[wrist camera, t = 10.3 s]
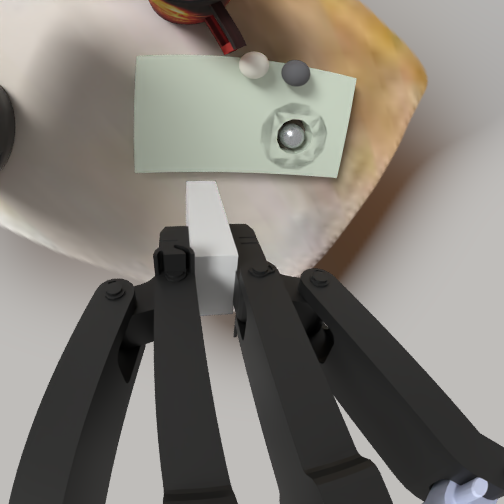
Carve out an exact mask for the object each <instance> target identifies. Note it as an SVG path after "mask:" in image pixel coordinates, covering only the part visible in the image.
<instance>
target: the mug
mask: <svg viewBox="0 0 504 504" xmlns="http://www.w3.org/2000/svg"><path fill="white" fill-rule="evenodd" d="M149 2H150V4H151V6H152V8H153V9H154V11H155V12H156V13H157V14H158V15H159V16H160V17H162V18H163V19H165V20H167V21H170V22H172V23H176V24H185V25H189V24H197V23H201V22H205V23H206V24H207V26H208V27H209V29H210V31H211V32H212V34H213V36H214V37H215V39H216V41H217V42H218V44H219V46H220V47H221V49H222V51H223V53H224V55H226V54H228V53H231V52H233V51H236V50H237V49H238V48H241V47H243V46H246V43H245V41H244V39H243V37H242V35H241V33H240V31H239V30H238V28H237V26H236V25H235V23H234V21H233V20H232V18H231V16H230V15H229V13H228V11H227V10H226V8H225V7H226V6H227V4H228V3H229V2H230V0H149ZM215 18H216V19H215ZM218 23H219V24H218ZM220 26H221V27H220ZM221 28H222V29H221ZM223 31H224V32H223ZM224 33H225V34H224ZM226 36H227V37H226ZM227 38H228V39H227Z"/></svg>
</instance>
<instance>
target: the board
mask: <svg viewBox="0 0 504 504" xmlns="http://www.w3.org/2000/svg"><path fill="white" fill-rule="evenodd" d="M240 59H241V58H239V57H227V56H211V55H147V56H137V57H136V72H135V93H134V165H135V173H156V172H244V173H270V174H290V175H306V176H319V177H332V178H337V175H338V170H339V166H340V161H341V157H342V152H343V147H344V143H345V138H346V133H347V128H348V123H349V117H350V112H351V107H352V101H353V96H354V90H355V84H356V78H352V77H349V76H345V75H341V74H337V73H332V72H328V71H324V70H319V69H314V68H309V69H310V79H309V80H308V82H307V83H306V84H304V85H302V86H299V87H295V86H291V85H289V84H287V83H286V82H285V81H284V80H283V78H282V75H281V71H282V67H283V66H284V65H285V64H286V63H280V62H274V61H269V69H268V72H267V73H266V74H265V75H264V76H263V77H261V78H258V79H250V78H247V77H245V76H244V75H243V74H242V73H241V71H240V69H239V61H240ZM292 119H298V120H300V121H302V123H303V126H304V128H305V134H304V141H303V143H302V144H301V145H300V146H298V147H296V148H292V149H283V148H280V147H279V144H278V142H277V134H278V130H279V129H280V127H281V126H282V125H283V123H285V122H287V121H289V120H292Z"/></svg>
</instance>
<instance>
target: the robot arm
mask: <svg viewBox="0 0 504 504" xmlns="http://www.w3.org/2000/svg"><path fill="white" fill-rule="evenodd" d="M14 135H15V119H14V113H13V108H12V105H11V102H10V99H9V97H8V95H7V94H6V92H5V91H4V89H3V88H2V87H1V86H0V171H1V169H2V168H3V167H4V165H5V164H6V162H7V160H8V158H9V156H10V153H11V150H12V147H13V142H14ZM153 258H154V268H155V277H153V278H152V279H151V280H150V281H148V282H146V283H144V284H141V285H137V286H133V284H132V283H130V282H129V281H127V280H124V279H111V280H108V281H106V282H104V283H102V284H101V285H100V286H99V287H98V288H97V290H96V291H95V293H94V295H93V297H92V298H91V300H90V302H89V304H88V306H87V307H86V309H85V311H84V313H83V315H82V316H81V319H80V320H79V322H78V324H77V326H76V328H75V330H74V332H73V334H72V336H71V338H70V340H69V342H68V344H67V346H66V348H65V350H64V352H63V354H62V356H61V359H60V360H59V362H58V365H57V367H56V369H55V371H54V373H53V375H52V378H51V380H50V382H49V385H48V387H47V389H46V391H45V394H44V396H43V399H42V401H41V404H40V406H39V408H38V411H37V414H36V416H35V419H34V421H33V424H32V427H31V430H30V432H29V435H28V438H27V441H26V444H25V447H24V450H23V453H22V456H21V460H20V463H19V466H18V469H17V473H16V477H15V480H14V484H13V488H12V492H11V496H10V500H9V504H105V502H106V496H107V492H108V487H109V481H110V477H111V472H112V467H113V464H114V459H115V455H116V450H117V446H118V442H119V438H120V434H121V430H122V426H123V422H124V419H125V415H126V411H127V407H128V404H129V400H130V397H131V393H132V389H133V386H134V383H135V379H136V376H137V372H138V369H139V366H140V362H141V359H142V356H143V353H144V350H145V344H147V343H150V342H153V341H154V378H155V401H156V418H157V430H158V431H157V432H158V443H159V453H160V462H161V471H162V479H163V487H164V497H163V504H238V503H237V500H236V497H235V494H234V492H233V490H232V487H231V483H230V479H229V475H228V471H227V466H226V462H225V457H224V452H223V447H222V443H221V438H220V433H219V428H218V423H217V417H216V412H215V407H214V402H213V396H212V390H211V384H210V378H209V372H208V366H207V360H206V353H205V347H204V340H203V333H202V326H201V319H200V316H207V315H222V314H232V313H233V306H234V308H235V312H236V317H235V327H234V337H236V336H237V334H238V338H239V342H240V347H241V350H242V354H243V359H244V363H245V367H246V371H247V375H248V378H249V382H250V386H251V390H252V394H253V398H254V401H255V405H256V409H257V413H258V417H259V420H260V424H261V428H262V431H263V435H264V439H265V442H266V446H267V449H268V453H269V456H270V460H271V463H272V467H273V470H274V474H275V477H276V481H277V484H278V488H279V493H280V504H393V503H392V500H391V498H390V495H389V493H388V490H387V488H386V486H385V483H384V481H383V479H382V476H381V474H380V472H379V470H378V468H377V467H376V465H375V464H374V463H373V462H372V461H371V460H370V459H367V458H364V457H362V456H361V455H360V454H359V453H358V452H357V450H356V447H355V445H354V443H353V440H352V438H351V436H350V433H349V431H348V428H347V426H346V424H345V421H344V419H343V417H342V414H341V412H340V410H339V407H338V405H337V403H336V400H335V398H336V399H337V400H338V402H339V403H340V404H341V406H342V407H343V408H344V410H345V411H346V412H347V414H348V415H349V416H350V418H351V419H352V420H353V422H354V423H355V424H356V426H357V427H358V428H359V430H360V431H361V432H362V433H363V435H364V436H365V437H366V438H367V440H368V441H369V442H370V444H371V445H372V446H373V448H374V449H375V450H376V452H377V453H378V454H379V456H380V457H381V458H382V459H383V460H384V462H385V463H386V465H387V466H388V467H389V468H390V470H391V471H392V472H393V474H394V475H395V476H396V477H397V479H398V480H399V481H400V482H401V483H402V484H403V485H404V487H405V488H406V489H408V490H409V491H410V492H411V493H412V494H414V495H415V496H416V497H418V498H419V499H421V500H422V501H424V502H423V503H422V504H496V503H497V500H498V498H500V497H502V496H504V447H502V446H500V445H499V444H497V443H495V442H494V441H492V440H490V439H488V438H487V437H485V436H484V435H482V434H480V433H479V432H478V430H476V428H475V427H474V426H473V425H472V423H471V422H470V421H469V420H468V419H467V418H466V416H465V415H464V414H463V413H462V412H461V411H460V410H459V408H458V407H457V406H456V405H455V404H454V403H453V401H451V399H450V398H449V397H448V396H447V395H446V394H445V393H444V391H443V390H442V389H441V388H440V387H439V386H438V385H437V383H436V382H435V381H434V380H433V379H432V378H431V377H430V376H429V375H428V374H427V372H426V371H425V370H424V369H423V368H422V367H421V366H420V365H419V364H418V363H417V362H416V361H415V359H414V358H413V357H412V356H411V355H410V354H409V353H408V352H407V351H406V350H405V349H404V348H403V347H402V345H401V344H399V342H398V341H397V340H396V339H395V338H394V337H393V336H392V335H391V334H390V333H389V332H388V331H387V330H386V329H385V328H384V327H383V326H382V325H381V323H380V322H379V321H378V320H377V319H376V318H375V317H374V316H373V315H372V314H371V313H370V312H369V311H368V310H367V309H366V308H365V307H364V306H363V305H362V304H361V303H360V302H359V301H358V300H357V299H356V298H355V297H354V296H353V295H352V294H351V293H350V292H349V291H348V290H347V289H346V288H345V287H344V286H343V285H342V284H341V283H340V282H339V281H338V280H337V279H336V278H335V277H334V276H333V275H332V274H330V273H329V272H327V271H325V270H322V269H316V268H313V269H308V270H305V271H304V272H303V273H302V274H301V278H297V277H291V276H286V275H282V274H280V273H279V271H278V269H277V268H276V267H275V266H274V265H273V264H271V263H270V262H267V261H266V258H265V256H264V254H263V251H262V249H261V247H260V244H259V242H258V240H257V238H256V235H255V233H254V230H253V229H252V228H250V227H249V226H248V225H247V224H229V223H228V220H227V217H226V214H225V210H224V207H223V204H222V201H221V197H220V194H219V191H218V187H217V184H216V181H186V226H175V227H165V228H164V229H163V230H162V231H161V233H160V240H159V248H157V249H156V250H155V252H154V254H153ZM324 323H325V324H326V325H327V326H328V327H327V326H326V325H325V324H324ZM333 395H334V396H335V398H334V396H333Z"/></svg>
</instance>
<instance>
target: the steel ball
mask: <svg viewBox="0 0 504 504" xmlns="http://www.w3.org/2000/svg"><path fill="white" fill-rule="evenodd" d="M279 140H280V142H281V143H282V144H283V145H284V146H285V147H288V148H296V147H298V146H300V145H301V144H302V143H303V141H304V131H303V129H302V128H301V127H300V126H299V125H297V124H293V123H289V124H286V125H284V126H283V127H282V128H281V129H280V131H279Z"/></svg>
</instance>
